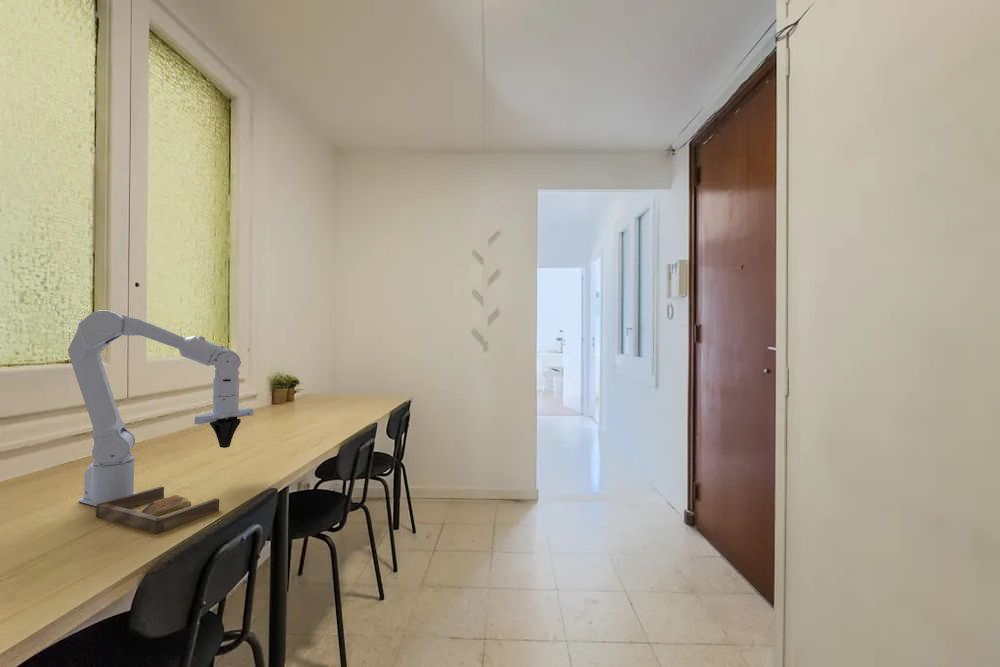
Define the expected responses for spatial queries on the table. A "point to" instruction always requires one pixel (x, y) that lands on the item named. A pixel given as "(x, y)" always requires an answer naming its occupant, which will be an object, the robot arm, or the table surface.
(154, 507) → the shard
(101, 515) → the frame
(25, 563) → the table surface
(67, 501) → the table surface
